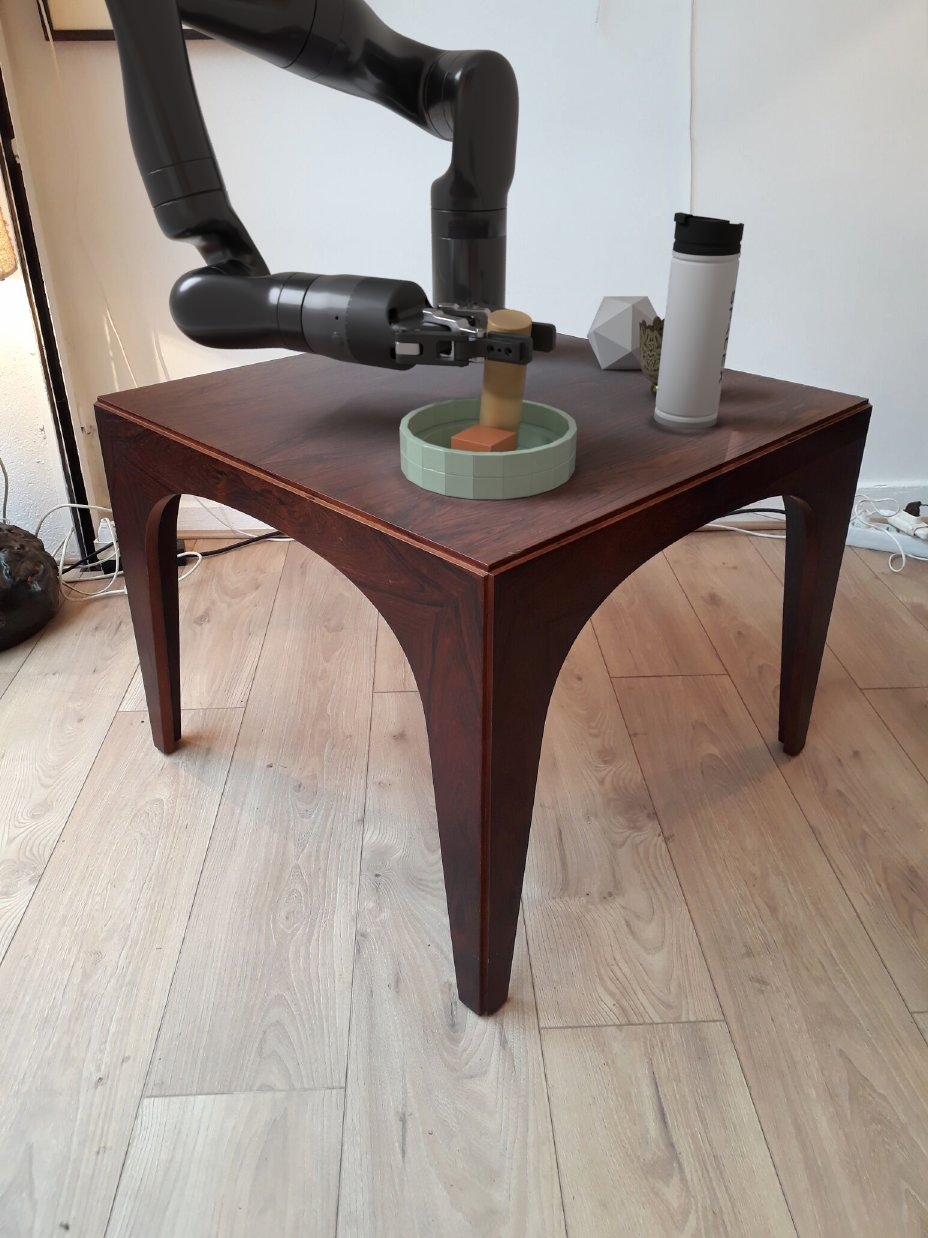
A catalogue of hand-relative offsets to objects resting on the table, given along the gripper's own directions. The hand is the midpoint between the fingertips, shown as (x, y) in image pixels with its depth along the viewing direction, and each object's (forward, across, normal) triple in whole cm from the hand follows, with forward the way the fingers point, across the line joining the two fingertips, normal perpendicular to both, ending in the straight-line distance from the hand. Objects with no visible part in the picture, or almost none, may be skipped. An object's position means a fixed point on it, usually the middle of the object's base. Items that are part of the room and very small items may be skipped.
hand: (541, 344), depth 74 cm
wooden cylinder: (-5, +2, +10) cm, 11 cm away
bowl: (-5, 0, +12) cm, 13 cm away
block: (-4, -3, +11) cm, 12 cm away
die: (-7, +40, +12) cm, 42 cm away
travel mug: (+7, +22, +12) cm, 26 cm away
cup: (+2, +30, +12) cm, 32 cm away
